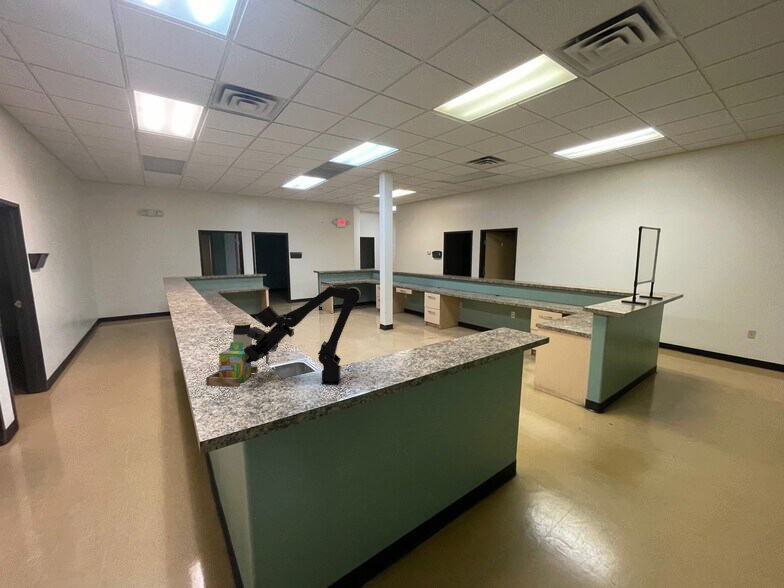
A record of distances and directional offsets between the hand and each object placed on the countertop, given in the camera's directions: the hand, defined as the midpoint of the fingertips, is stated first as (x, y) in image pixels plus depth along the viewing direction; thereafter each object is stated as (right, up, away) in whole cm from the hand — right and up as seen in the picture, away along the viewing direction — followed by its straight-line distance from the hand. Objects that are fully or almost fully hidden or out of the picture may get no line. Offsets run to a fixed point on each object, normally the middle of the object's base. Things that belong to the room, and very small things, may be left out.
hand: (247, 362), depth 125 cm
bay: (-5, -7, +1) cm, 9 cm away
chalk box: (-5, -7, +1) cm, 9 cm away
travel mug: (-14, -5, +25) cm, 29 cm away
